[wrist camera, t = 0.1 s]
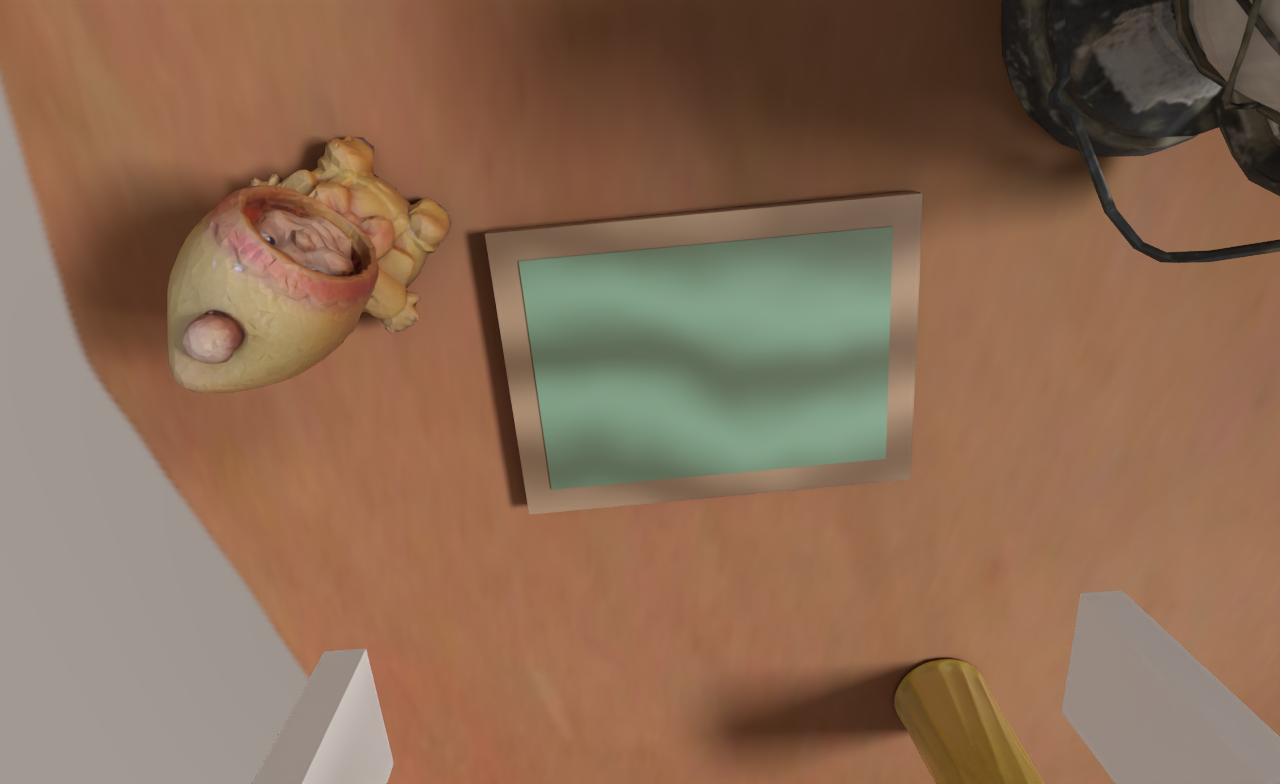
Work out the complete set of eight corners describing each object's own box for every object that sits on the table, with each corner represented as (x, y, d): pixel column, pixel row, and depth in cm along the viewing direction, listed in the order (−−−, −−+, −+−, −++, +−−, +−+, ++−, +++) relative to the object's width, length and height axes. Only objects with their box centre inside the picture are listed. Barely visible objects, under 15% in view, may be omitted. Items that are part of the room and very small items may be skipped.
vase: (998, 704, 50) (1137, 918, 37) (915, 743, 51) (1022, 965, 38) (962, 642, 48) (1095, 843, 35) (877, 683, 49) (975, 895, 36)
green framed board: (488, 230, 38) (484, 234, 37) (914, 191, 38) (923, 193, 37) (531, 504, 44) (528, 515, 43) (903, 470, 44) (911, 480, 42)
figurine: (489, 226, 38) (361, 364, 25) (419, 324, 42) (277, 489, 29) (319, 95, 36) (85, 175, 23) (260, 211, 39) (29, 336, 27)
